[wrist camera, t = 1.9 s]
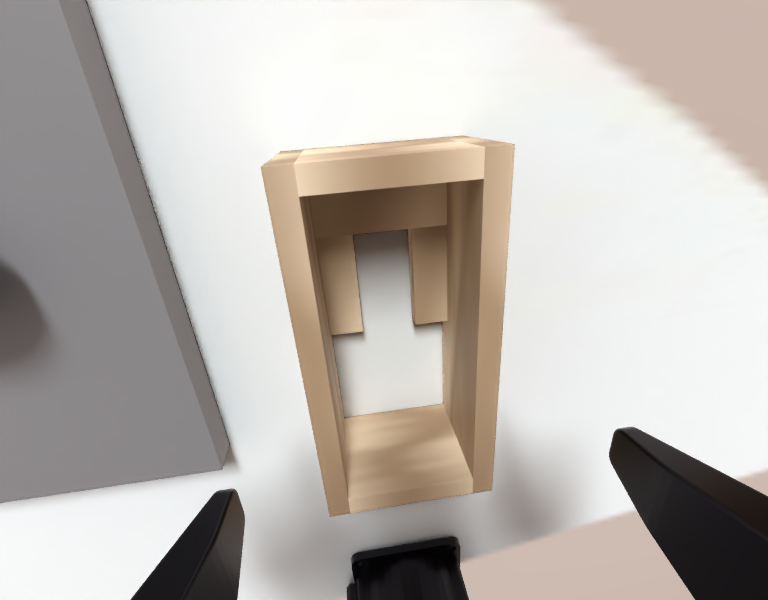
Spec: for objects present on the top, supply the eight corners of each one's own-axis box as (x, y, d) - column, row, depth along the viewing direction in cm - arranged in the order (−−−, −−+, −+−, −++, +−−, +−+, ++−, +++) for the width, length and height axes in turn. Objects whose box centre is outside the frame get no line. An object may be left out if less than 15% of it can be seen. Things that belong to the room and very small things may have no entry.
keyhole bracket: (462, 135, 14) (514, 144, 10) (458, 414, 20) (491, 490, 16) (280, 151, 14) (260, 166, 10) (329, 433, 19) (329, 516, 15)
